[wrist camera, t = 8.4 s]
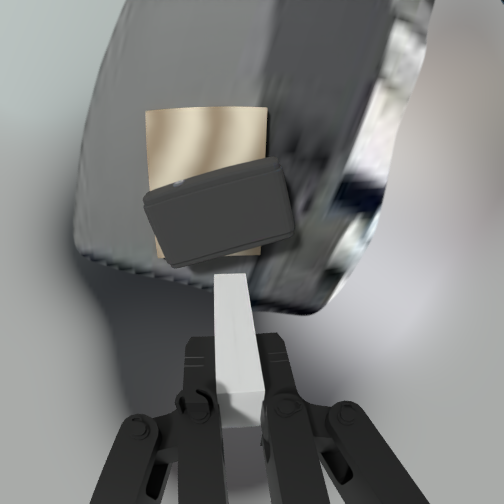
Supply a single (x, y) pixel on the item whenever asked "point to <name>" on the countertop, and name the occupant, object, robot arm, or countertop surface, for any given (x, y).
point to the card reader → (221, 212)
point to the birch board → (202, 144)
